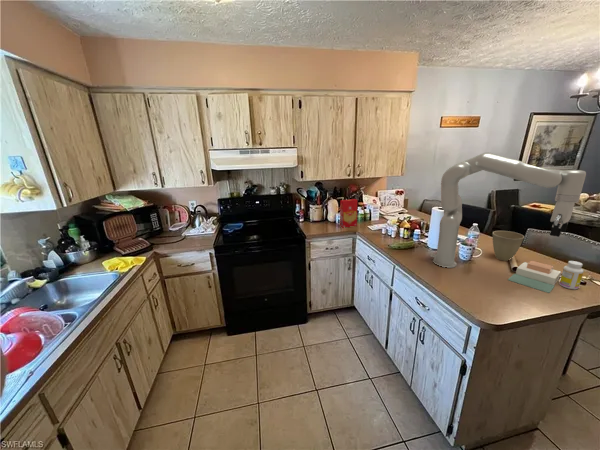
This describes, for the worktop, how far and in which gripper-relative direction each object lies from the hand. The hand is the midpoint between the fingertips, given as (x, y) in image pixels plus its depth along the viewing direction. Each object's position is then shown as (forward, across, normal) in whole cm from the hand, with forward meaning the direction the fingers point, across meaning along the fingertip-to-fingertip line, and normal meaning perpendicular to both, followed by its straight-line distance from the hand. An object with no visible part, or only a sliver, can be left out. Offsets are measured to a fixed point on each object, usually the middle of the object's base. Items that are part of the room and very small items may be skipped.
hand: (557, 233), depth 117 cm
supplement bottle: (+28, -7, +7) cm, 30 cm away
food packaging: (+26, +5, -135) cm, 138 cm away
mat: (+27, +3, -4) cm, 28 cm away
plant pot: (+28, -20, -24) cm, 42 cm away
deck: (+27, -8, -5) cm, 29 cm away
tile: (+24, -9, -5) cm, 26 cm away
